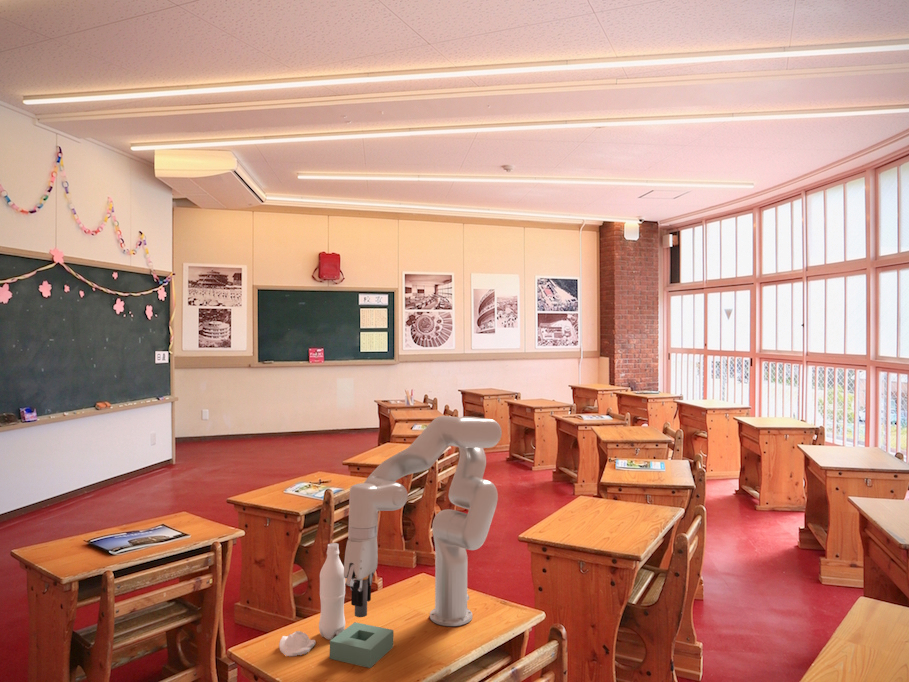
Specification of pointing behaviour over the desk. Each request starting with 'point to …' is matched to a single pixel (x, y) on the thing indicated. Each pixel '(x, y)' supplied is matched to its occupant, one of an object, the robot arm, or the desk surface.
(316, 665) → the desk surface
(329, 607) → the water bottle
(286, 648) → the rose
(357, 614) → the round peg
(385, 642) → the socket block
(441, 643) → the desk surface
